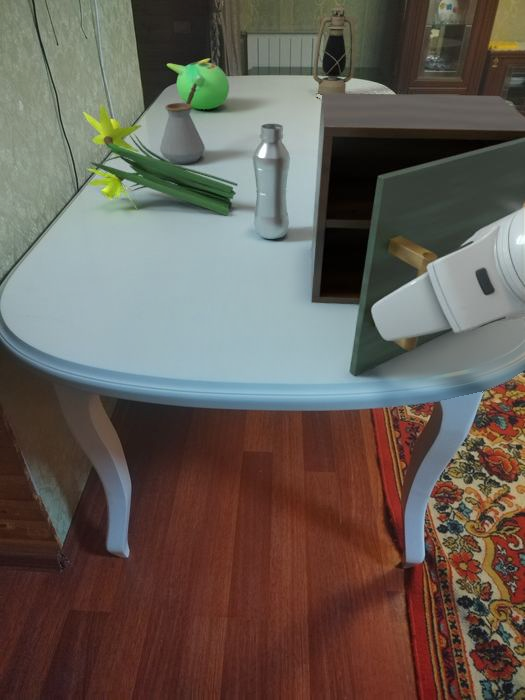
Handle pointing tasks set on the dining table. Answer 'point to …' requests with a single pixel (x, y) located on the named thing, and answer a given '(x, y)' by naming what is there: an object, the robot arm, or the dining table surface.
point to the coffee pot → (181, 134)
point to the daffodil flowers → (154, 171)
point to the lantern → (334, 52)
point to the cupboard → (384, 167)
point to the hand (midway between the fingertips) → (412, 307)
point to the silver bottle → (271, 183)
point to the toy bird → (202, 84)
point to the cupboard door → (430, 229)
